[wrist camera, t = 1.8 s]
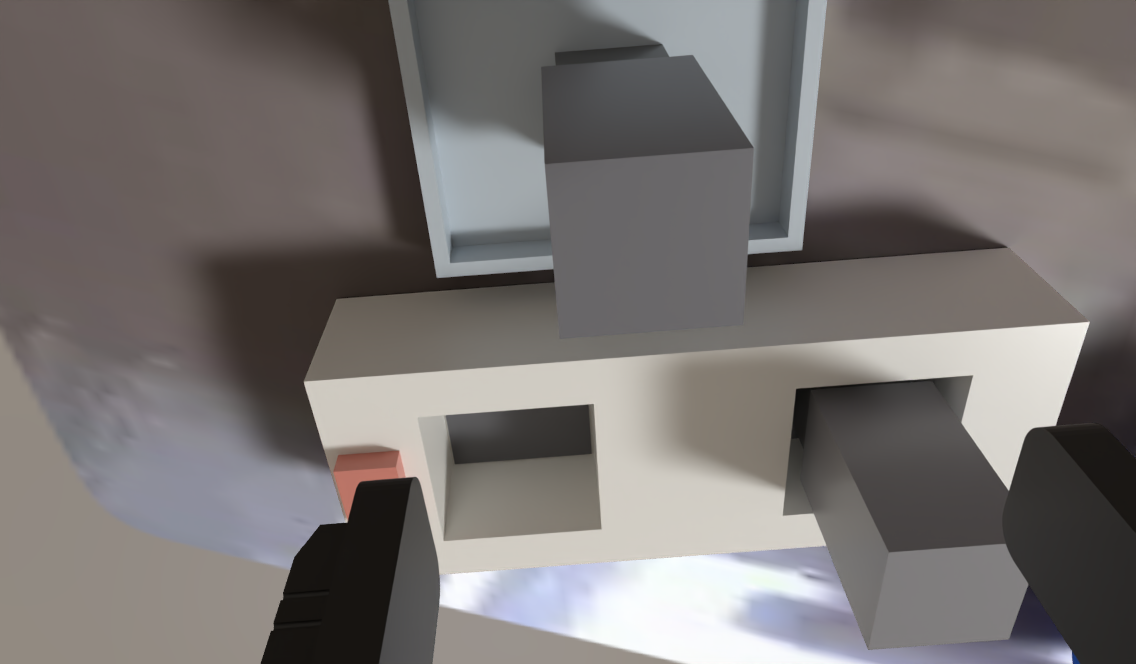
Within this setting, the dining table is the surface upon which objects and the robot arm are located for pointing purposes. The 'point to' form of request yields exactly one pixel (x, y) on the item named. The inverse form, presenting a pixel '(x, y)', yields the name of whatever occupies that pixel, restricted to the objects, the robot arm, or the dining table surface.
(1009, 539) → the robot arm
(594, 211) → the plug
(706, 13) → the tray
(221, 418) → the dining table surface
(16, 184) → the dining table surface
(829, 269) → the pdu strip
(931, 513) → the twin plug
